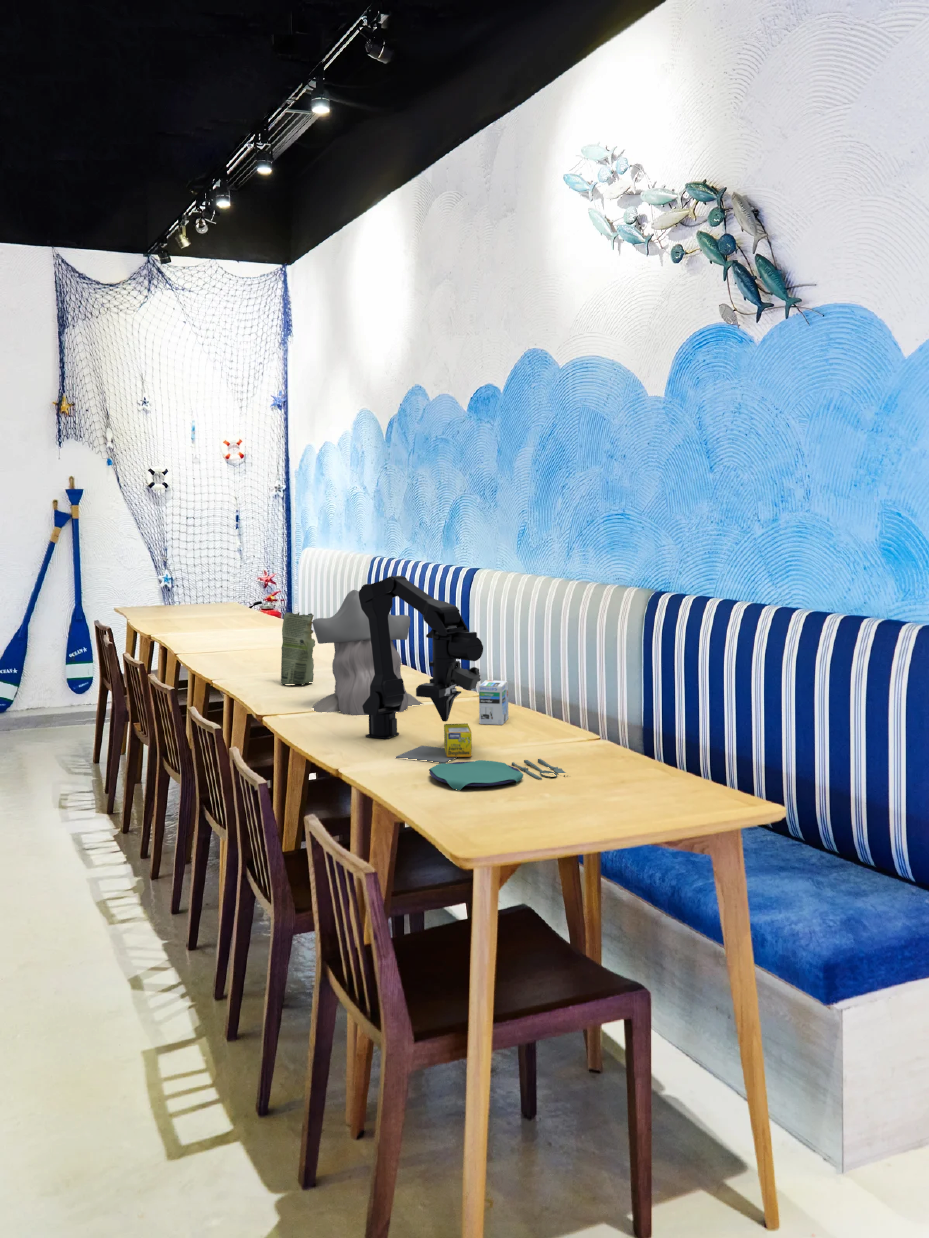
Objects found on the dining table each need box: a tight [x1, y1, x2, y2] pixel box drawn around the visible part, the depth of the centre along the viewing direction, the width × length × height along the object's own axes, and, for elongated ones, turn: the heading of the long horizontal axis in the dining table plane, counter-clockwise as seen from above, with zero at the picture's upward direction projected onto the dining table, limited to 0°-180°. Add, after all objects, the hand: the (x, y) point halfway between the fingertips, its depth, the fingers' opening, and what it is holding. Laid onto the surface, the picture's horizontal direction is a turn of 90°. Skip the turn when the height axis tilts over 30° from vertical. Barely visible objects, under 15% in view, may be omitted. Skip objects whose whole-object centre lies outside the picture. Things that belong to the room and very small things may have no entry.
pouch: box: [280, 611, 316, 685], centre depth 349 cm, size 11×12×25 cm
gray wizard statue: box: [311, 589, 424, 716], centre depth 308 cm, size 34×34×35 cm
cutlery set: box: [428, 758, 567, 791], centre depth 224 cm, size 20×30×2 cm, turn 112°
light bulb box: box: [478, 679, 509, 726], centre depth 284 cm, size 11×7×11 cm, turn 168°
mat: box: [395, 745, 457, 764], centre depth 244 cm, size 13×13×1 cm
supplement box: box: [443, 722, 473, 758], centre depth 245 cm, size 6×6×11 cm
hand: (445, 721), depth 249 cm, fingers closed
